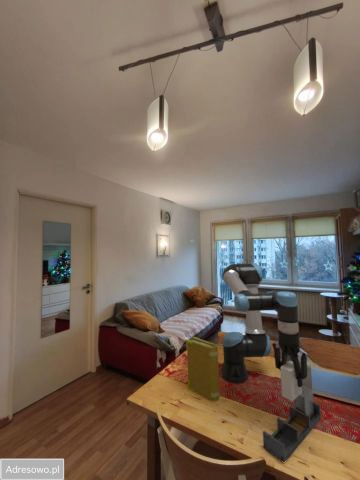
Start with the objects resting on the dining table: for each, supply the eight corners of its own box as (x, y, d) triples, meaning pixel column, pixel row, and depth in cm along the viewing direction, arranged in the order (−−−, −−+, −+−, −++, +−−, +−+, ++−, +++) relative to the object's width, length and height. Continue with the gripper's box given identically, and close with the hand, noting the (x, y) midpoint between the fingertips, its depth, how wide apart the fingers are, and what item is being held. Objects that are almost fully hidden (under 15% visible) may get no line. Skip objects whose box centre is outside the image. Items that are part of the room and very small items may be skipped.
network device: (319, 411, 95) (316, 364, 96) (297, 409, 97) (295, 363, 98) (299, 378, 120) (297, 341, 121) (282, 376, 122) (280, 340, 123)
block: (282, 395, 84) (280, 367, 85) (291, 387, 89) (290, 360, 90) (292, 401, 81) (290, 371, 82) (301, 392, 86) (300, 364, 87)
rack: (263, 447, 78) (261, 414, 79) (301, 408, 97) (300, 382, 97) (284, 463, 72) (282, 427, 73) (320, 418, 91) (318, 390, 91)
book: (187, 389, 113) (186, 340, 115) (195, 383, 118) (194, 336, 120) (214, 403, 102) (212, 349, 103) (222, 396, 106) (220, 344, 108)
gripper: (263, 327, 91) (266, 385, 90) (306, 339, 78) (311, 407, 76) (273, 324, 96) (276, 378, 94) (315, 334, 82) (319, 398, 81)
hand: (291, 391), depth 85 cm, fingers closed on block, 4 cm apart
